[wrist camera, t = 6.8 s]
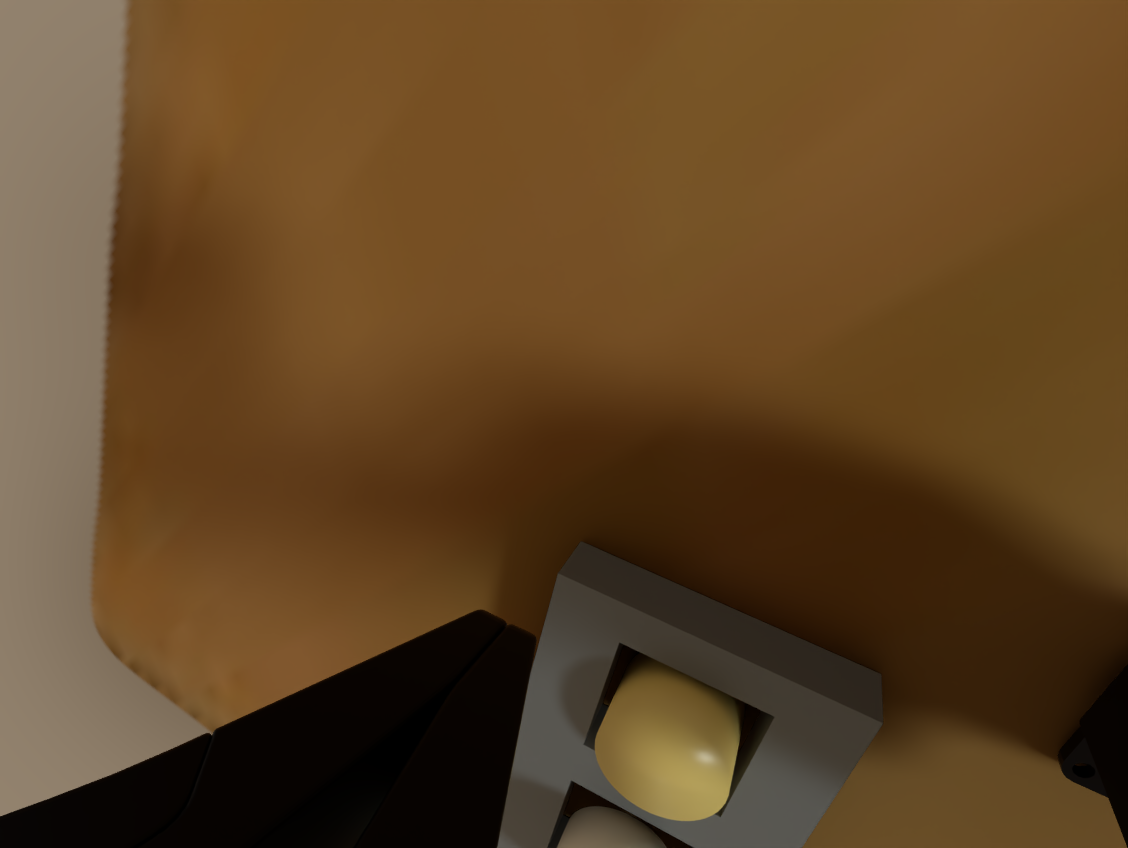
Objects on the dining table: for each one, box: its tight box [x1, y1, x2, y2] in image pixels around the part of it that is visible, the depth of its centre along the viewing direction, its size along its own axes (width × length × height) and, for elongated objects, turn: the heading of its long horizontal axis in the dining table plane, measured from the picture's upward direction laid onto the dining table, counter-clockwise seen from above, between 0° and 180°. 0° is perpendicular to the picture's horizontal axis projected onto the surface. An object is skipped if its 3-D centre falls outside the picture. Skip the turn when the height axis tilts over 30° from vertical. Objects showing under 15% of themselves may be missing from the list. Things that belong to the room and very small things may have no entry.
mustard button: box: [595, 653, 745, 821], centre depth 21 cm, size 4×4×3 cm
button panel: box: [498, 541, 883, 848], centre depth 25 cm, size 10×22×2 cm, turn 167°
